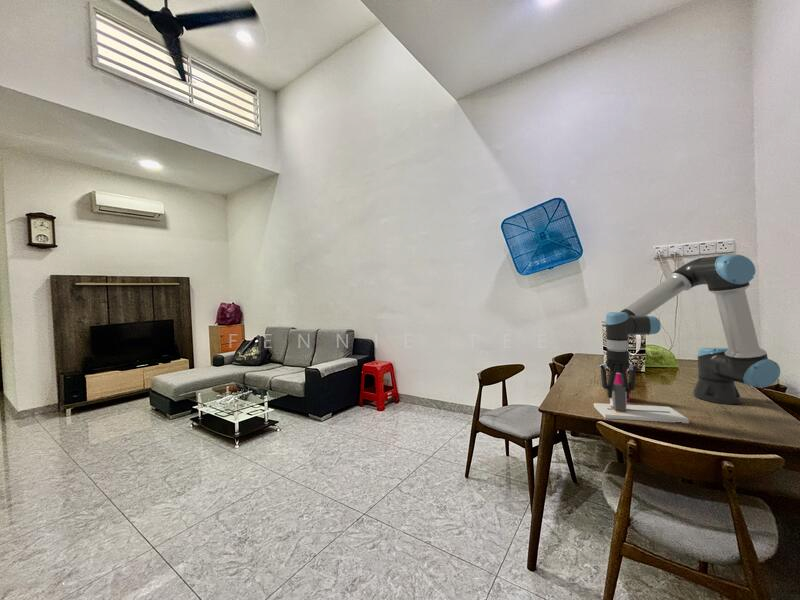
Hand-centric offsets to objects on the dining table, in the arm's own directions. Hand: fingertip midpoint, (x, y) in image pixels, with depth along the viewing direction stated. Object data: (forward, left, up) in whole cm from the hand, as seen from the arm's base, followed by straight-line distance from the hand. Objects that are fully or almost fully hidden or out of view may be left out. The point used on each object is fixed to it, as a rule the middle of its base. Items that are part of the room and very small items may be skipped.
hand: (618, 405), depth 130 cm
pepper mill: (-8, -18, -3) cm, 20 cm away
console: (-7, 0, -3) cm, 8 cm away
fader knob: (0, 0, -1) cm, 1 cm away
